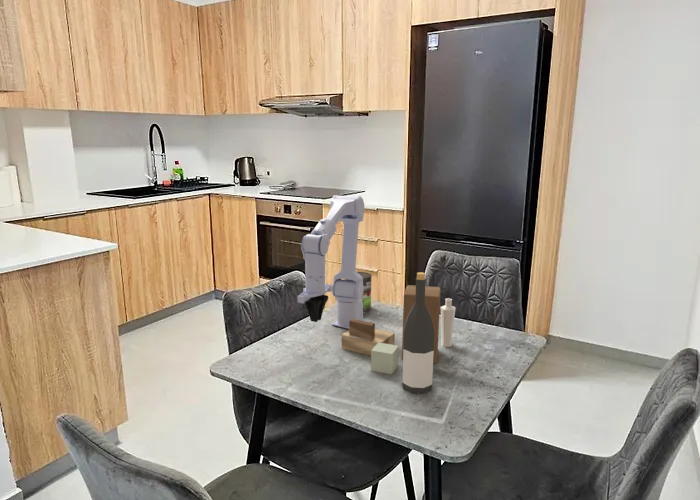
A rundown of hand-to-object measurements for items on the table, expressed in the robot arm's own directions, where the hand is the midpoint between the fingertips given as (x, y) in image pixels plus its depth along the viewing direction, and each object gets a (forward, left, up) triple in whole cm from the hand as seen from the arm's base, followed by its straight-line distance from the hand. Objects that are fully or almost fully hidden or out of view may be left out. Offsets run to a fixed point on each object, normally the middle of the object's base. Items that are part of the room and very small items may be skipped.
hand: (315, 320), depth 142 cm
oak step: (-12, +11, -10) cm, 19 cm away
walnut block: (-8, +11, -6) cm, 15 cm away
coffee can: (-39, -9, -10) cm, 41 cm away
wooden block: (-15, +27, -10) cm, 33 cm away
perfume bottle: (-26, +31, -10) cm, 42 cm away
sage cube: (-2, +22, -10) cm, 24 cm away
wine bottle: (+3, +34, -10) cm, 36 cm away
